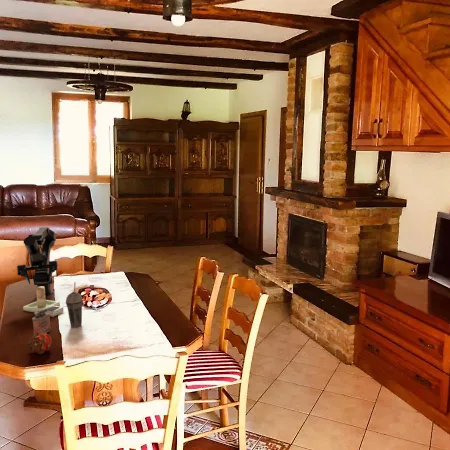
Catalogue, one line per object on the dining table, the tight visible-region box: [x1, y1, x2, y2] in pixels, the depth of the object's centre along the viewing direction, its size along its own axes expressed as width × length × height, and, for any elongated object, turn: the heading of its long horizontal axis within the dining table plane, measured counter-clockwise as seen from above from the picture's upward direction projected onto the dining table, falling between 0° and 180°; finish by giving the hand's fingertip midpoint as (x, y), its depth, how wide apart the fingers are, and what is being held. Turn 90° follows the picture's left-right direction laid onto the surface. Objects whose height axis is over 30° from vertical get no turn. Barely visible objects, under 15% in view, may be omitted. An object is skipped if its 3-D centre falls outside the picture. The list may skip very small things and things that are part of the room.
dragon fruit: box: [27, 332, 53, 355], centre depth 190 cm, size 8×8×12 cm
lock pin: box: [35, 286, 47, 308], centre depth 240 cm, size 4×4×10 cm
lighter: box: [31, 309, 52, 336], centre depth 209 cm, size 8×3×10 cm, turn 148°
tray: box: [22, 299, 61, 313], centre depth 241 cm, size 12×12×2 cm
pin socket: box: [45, 305, 65, 318], centre depth 233 cm, size 7×7×2 cm
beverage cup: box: [65, 281, 84, 329], centre depth 214 cm, size 7×7×20 cm
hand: (39, 282), depth 237 cm, fingers open, 9 cm apart
